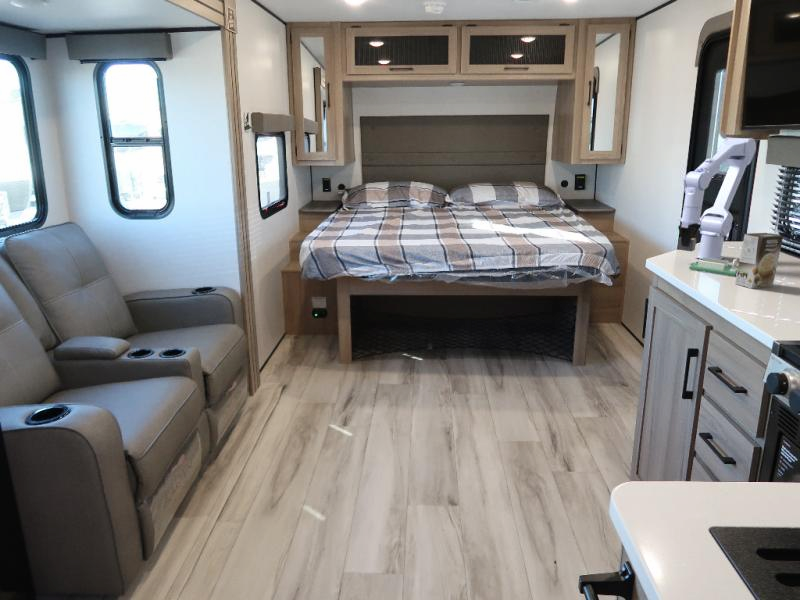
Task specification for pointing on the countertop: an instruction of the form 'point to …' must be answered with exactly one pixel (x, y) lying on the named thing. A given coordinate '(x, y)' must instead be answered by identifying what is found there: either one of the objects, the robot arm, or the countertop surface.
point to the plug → (690, 247)
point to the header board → (716, 266)
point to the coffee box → (758, 260)
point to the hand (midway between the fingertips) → (686, 245)
